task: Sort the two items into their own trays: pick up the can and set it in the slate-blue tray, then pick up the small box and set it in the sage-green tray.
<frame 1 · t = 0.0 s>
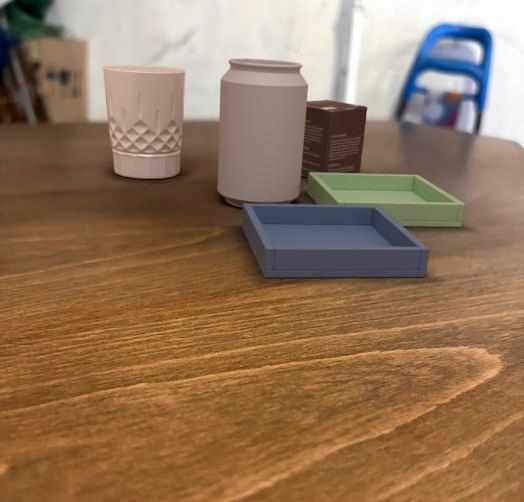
tray green: (379, 208, 61), on the table
box: (322, 176, 73), on the table
can: (257, 203, 61), on the table
tray blue: (326, 250, 49), on the table
white cup: (147, 174, 69), on the table
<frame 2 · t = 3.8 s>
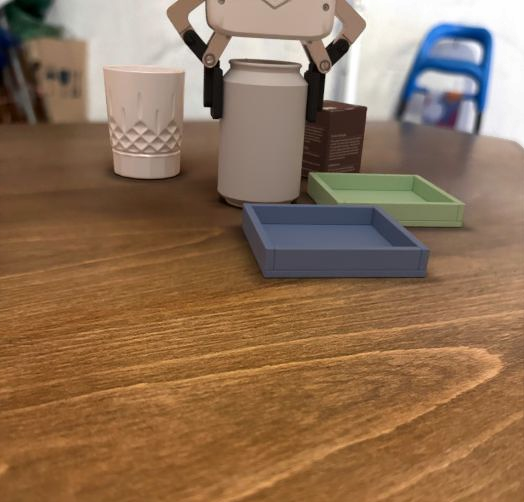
hand: (262, 117, 58), 7 cm above the table, tool pointing down, fingers closed on can, 7 cm apart
can: (257, 203, 61), on the table, touching gripper
everything else where it was.
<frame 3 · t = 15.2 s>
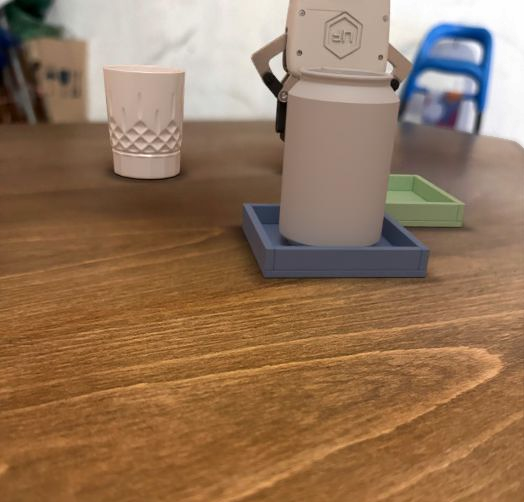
hand: (325, 141, 72), 4 cm above the table, tool pointing down, fingers closed on box, 8 cm apart
box: (321, 176, 73), on the table, touching gripper
can: (327, 246, 49), resting on tray blue
everything else where it was.
when the fingers open (4 cm above the table, at t = 22.1 s): box stays where it is, resting on tray green.
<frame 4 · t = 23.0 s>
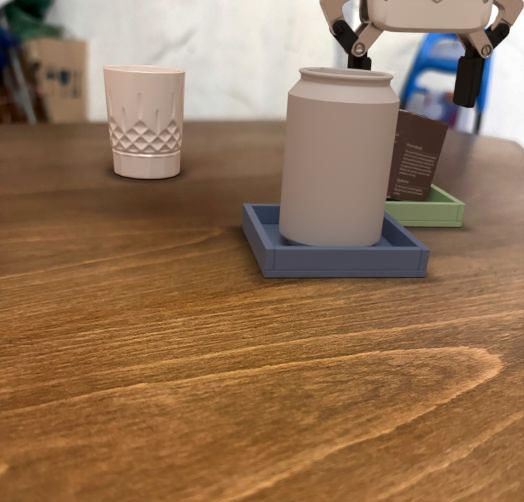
hand: (411, 106, 59), 9 cm above the table, tool pointing down, fingers open, 9 cm apart
box: (381, 197, 61), point 1 cm above the table, touching gripper, tray green
everything else where it was.
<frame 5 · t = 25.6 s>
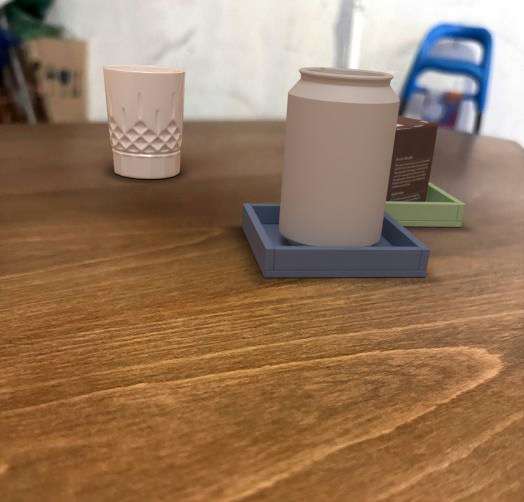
box: (379, 205, 61), resting on tray green
everything else where it was.
at the end: can 0.1 cm off-centre in the tray blue, point 0.3 cm above the tray blue's base; box 0.1 cm off-centre in the tray green, point 0.3 cm above the tray green's base; can tilted 0° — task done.
